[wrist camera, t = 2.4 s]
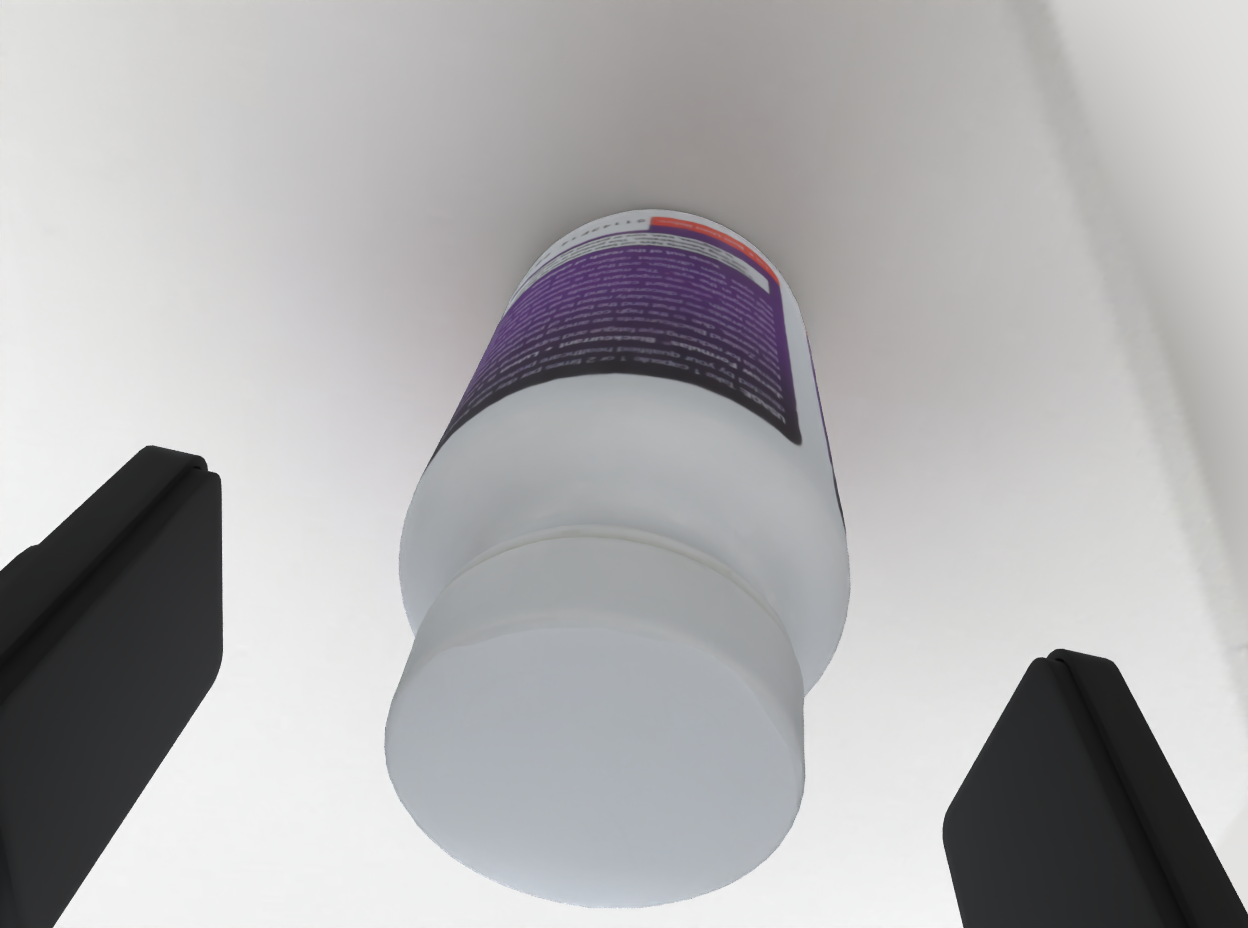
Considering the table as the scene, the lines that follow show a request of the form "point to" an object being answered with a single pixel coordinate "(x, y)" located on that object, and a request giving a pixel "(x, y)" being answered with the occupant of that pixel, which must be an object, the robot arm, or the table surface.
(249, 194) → the table surface
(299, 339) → the table surface
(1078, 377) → the table surface
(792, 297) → the pill bottle
